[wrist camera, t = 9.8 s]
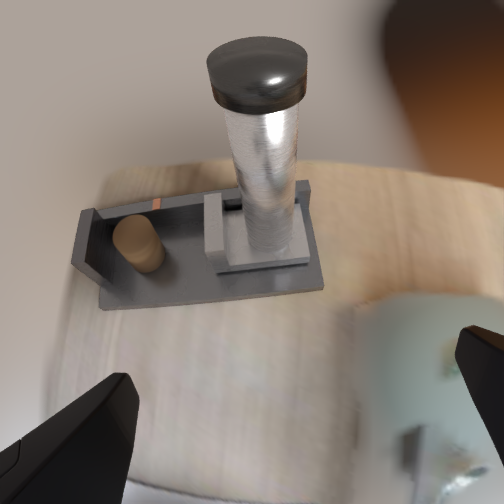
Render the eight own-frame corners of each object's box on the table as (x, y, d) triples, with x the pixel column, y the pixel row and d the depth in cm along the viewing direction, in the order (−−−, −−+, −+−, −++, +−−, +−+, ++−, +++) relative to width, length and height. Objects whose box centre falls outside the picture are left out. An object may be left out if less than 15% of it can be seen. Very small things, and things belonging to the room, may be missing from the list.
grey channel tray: (305, 204, 25) (309, 161, 21) (322, 289, 22) (334, 259, 17) (112, 229, 26) (84, 196, 21) (103, 310, 23) (67, 288, 18)
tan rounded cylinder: (155, 277, 23) (139, 257, 20) (123, 266, 23) (105, 245, 20) (171, 244, 24) (158, 220, 21) (140, 234, 24) (125, 210, 21)
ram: (299, 210, 24) (308, 31, 11) (308, 262, 22) (337, 79, 9) (213, 220, 24) (156, 50, 11) (214, 273, 22) (138, 104, 9)
